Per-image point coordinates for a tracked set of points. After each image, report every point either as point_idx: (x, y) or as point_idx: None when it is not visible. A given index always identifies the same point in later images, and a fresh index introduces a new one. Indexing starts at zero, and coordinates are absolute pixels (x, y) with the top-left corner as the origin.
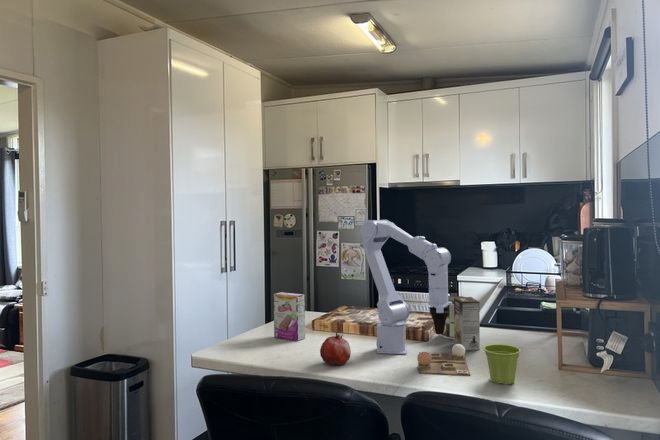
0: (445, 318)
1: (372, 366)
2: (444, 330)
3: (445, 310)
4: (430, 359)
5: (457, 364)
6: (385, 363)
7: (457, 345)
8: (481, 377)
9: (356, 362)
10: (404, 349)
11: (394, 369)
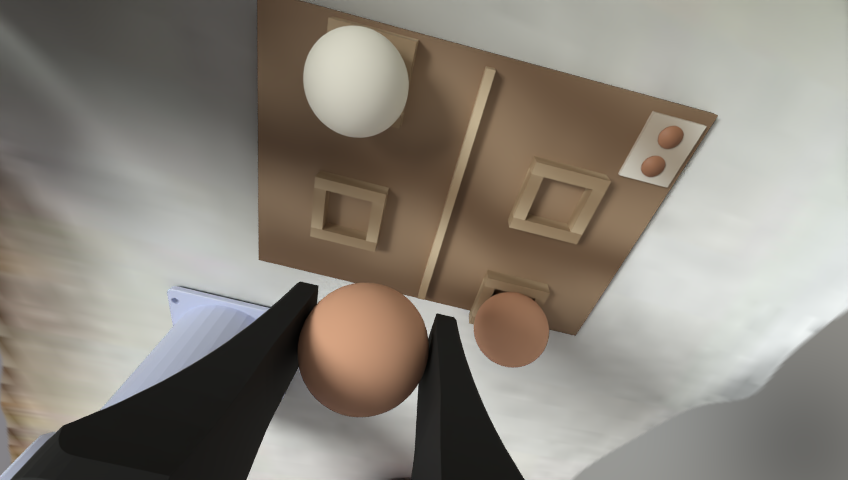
0: (515, 475)
1: None
2: (416, 315)
3: (192, 463)
4: (539, 311)
5: (504, 128)
6: (413, 395)
7: (366, 110)
8: (778, 47)
9: (394, 454)
10: (245, 318)
11: (493, 387)
